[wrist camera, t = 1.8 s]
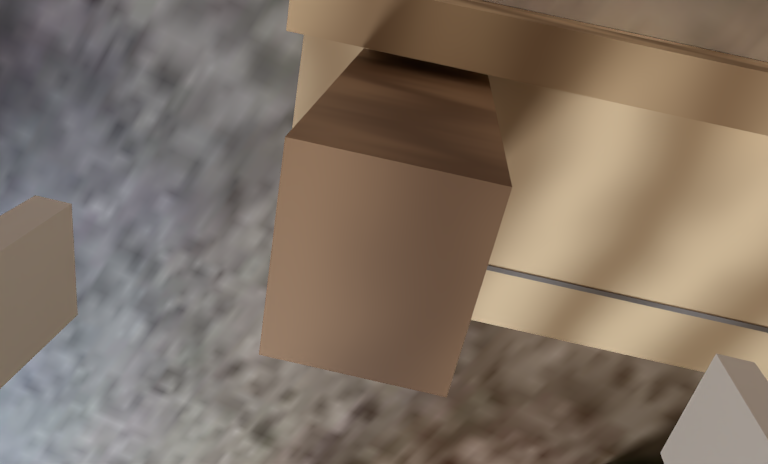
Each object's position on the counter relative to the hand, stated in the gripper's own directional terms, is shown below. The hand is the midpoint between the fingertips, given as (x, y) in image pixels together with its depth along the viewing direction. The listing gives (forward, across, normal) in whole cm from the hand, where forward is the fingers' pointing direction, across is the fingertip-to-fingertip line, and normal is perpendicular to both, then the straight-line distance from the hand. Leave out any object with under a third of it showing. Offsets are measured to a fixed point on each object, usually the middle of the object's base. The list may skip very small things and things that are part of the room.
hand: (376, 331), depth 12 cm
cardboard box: (+14, 0, -4) cm, 15 cm away
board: (+16, +9, -2) cm, 18 cm away
